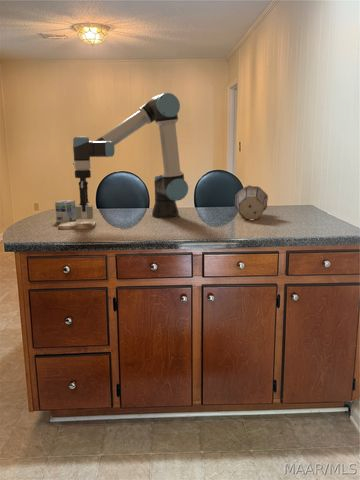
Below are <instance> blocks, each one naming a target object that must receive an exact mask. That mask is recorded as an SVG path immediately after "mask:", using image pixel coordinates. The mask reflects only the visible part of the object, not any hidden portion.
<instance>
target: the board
mask: <svg viewBox="0 0 360 480" xmlns="http://www.w3.org/2000/svg"><path fill="white" fill-rule="evenodd" d="M96 225H97V221H96V220H95V221H94V220H93V221H92V220H91V221H71V222H60V224H58V225H57V229H58V230H78V229H79V230H80V229H82V230H84V229H85V228H86V229H95V227H96Z"/></svg>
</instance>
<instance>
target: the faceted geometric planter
mask: <svg viewBox="0 0 360 480" xmlns="http://www.w3.org/2000/svg"><path fill="white" fill-rule="evenodd" d="M268 199H269V195H268V194H267V192H266V191H264V190H263V189H262V188H261V187H260V186H258V185H257V186H255V185H249V184H248V185H247V186H244V187H243V188H242V189H240V190H239V191H238V192H237V193H236V194H235V196H234V208H235V209H236V210H237V211H238V214H239V216H240V217H241V218H242V219H244V220H245V219H256V220H257V219H258V218H260V217H261V216H262V215H263V214H264V212H265V211H266V210H267V208H268Z"/></svg>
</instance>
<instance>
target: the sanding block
mask: <svg viewBox="0 0 360 480" xmlns="http://www.w3.org/2000/svg"><path fill="white" fill-rule="evenodd" d="M93 208H94V206H93V204H92V205H91V204H90V205H89V204H88V205H87V218H82V217H81V205H79V204H78V205H77V204H75V219H76V220H93V219H94V209H93Z"/></svg>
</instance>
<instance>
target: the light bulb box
mask: <svg viewBox="0 0 360 480" xmlns="http://www.w3.org/2000/svg"><path fill="white" fill-rule="evenodd" d="M54 204H55V205H54V206H55V207H54V208H55V218H56V219H55V220H56V223H61V222H75V221H76V220H77V219H75V206H76V200H74V199H63V200H58V201H55V202H54Z"/></svg>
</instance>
